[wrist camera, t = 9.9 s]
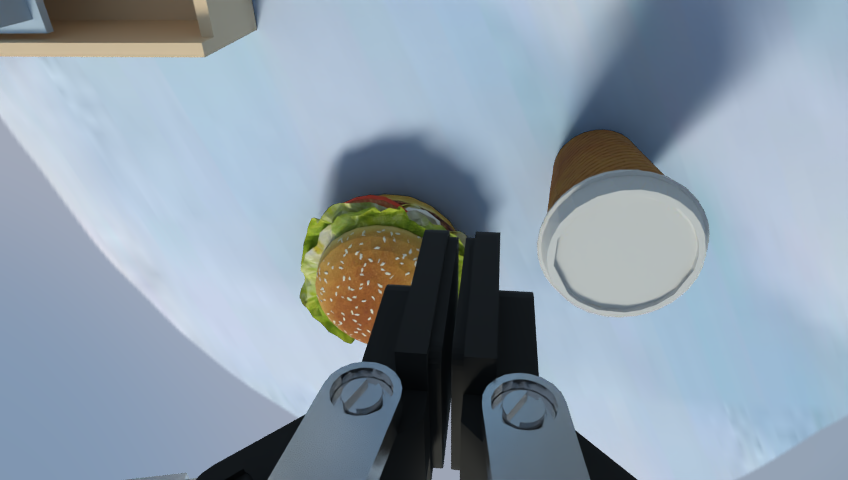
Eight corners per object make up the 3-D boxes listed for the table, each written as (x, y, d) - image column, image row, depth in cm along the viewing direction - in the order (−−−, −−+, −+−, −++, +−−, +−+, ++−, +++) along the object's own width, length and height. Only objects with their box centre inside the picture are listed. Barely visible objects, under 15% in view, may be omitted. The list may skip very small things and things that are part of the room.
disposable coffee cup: (538, 104, 39) (549, 175, 29) (678, 110, 38) (739, 187, 28) (524, 220, 44) (529, 316, 34) (648, 229, 43) (690, 330, 33)
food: (356, 143, 43) (328, 189, 36) (505, 235, 45) (505, 294, 39) (286, 262, 50) (251, 320, 43) (418, 336, 52) (405, 401, 46)
